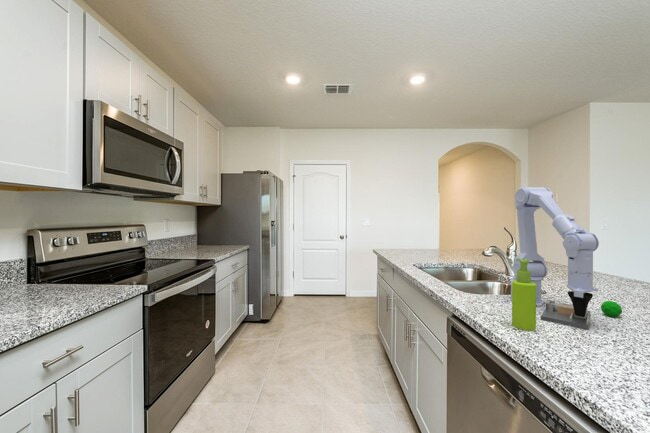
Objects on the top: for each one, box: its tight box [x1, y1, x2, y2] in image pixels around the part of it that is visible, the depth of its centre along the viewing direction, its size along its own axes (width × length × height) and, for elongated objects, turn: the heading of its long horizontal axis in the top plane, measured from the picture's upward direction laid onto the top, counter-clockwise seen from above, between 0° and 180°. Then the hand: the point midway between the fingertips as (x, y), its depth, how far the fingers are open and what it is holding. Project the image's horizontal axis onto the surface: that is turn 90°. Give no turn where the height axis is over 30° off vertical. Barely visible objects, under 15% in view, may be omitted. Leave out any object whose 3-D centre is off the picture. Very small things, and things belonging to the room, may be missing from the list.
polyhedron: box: [600, 300, 623, 318], centre depth 93 cm, size 5×5×5 cm
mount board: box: [540, 299, 591, 330], centre depth 92 cm, size 11×18×4 cm, turn 135°
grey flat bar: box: [551, 302, 589, 314], centre depth 92 cm, size 9×3×1 cm, turn 45°
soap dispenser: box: [511, 259, 537, 332], centre depth 84 cm, size 6×7×20 cm
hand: (579, 316), depth 86 cm, fingers closed
